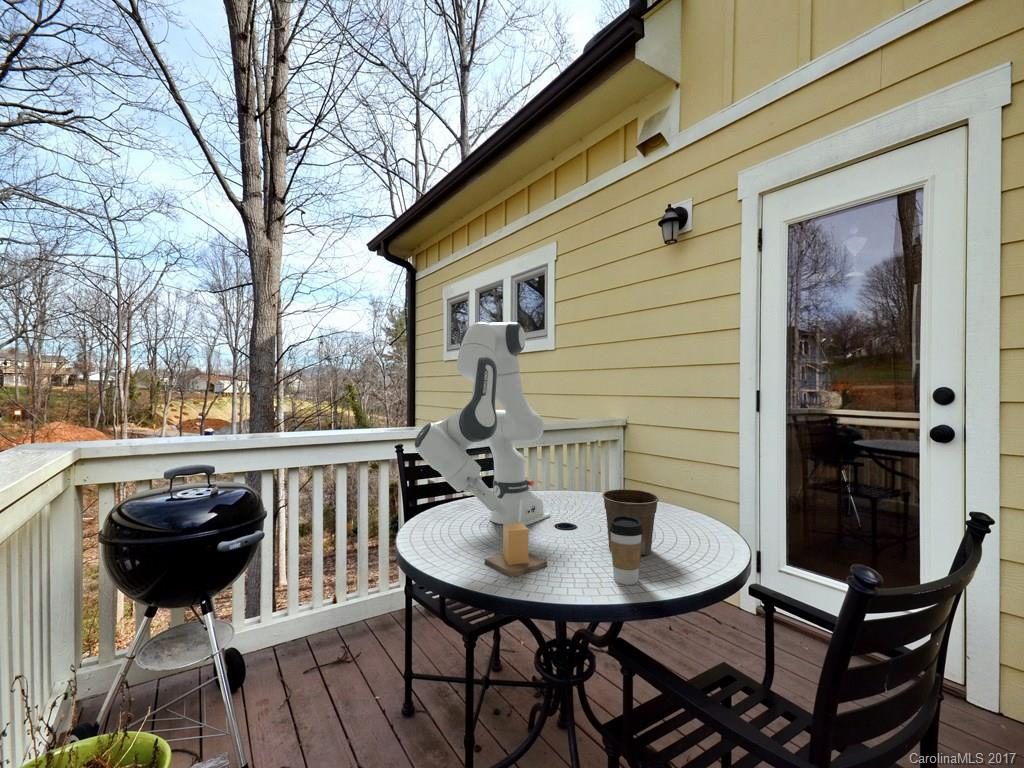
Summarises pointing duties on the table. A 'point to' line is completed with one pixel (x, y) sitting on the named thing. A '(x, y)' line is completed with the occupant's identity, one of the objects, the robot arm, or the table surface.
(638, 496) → the plant pot
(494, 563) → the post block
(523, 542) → the tall orange pillar
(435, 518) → the table surface
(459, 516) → the table surface
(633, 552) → the coffee cup
